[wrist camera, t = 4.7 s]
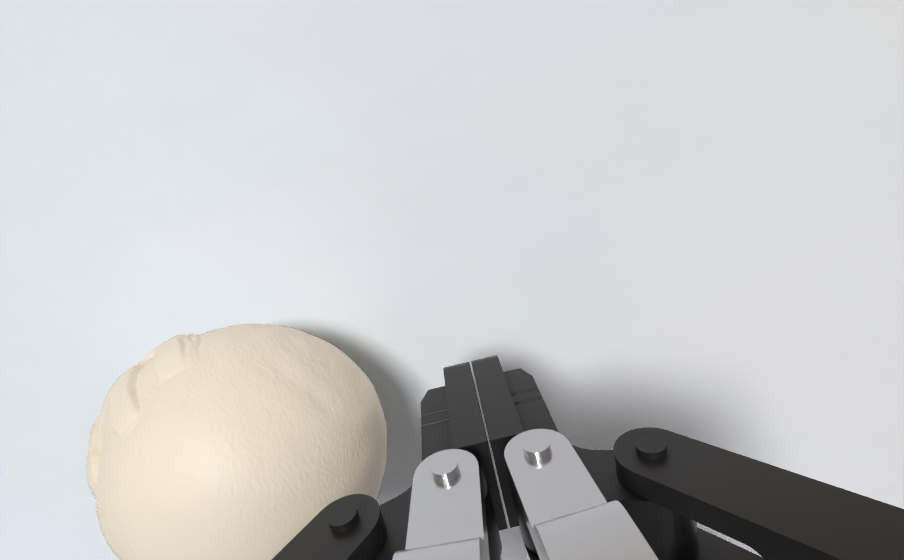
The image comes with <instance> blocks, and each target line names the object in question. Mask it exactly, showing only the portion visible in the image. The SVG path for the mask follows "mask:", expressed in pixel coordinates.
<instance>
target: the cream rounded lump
mask: <svg viewBox="0 0 904 560" xmlns="http://www.w3.org/2000/svg"><path fill="white" fill-rule="evenodd" d="M386 462H387V427H386V421H385V417H384V413H383V410H382V406H381V404H380V400H379V398H378V395H377V393H376V391H375V388H374V386H373V384H372V383H371V381H370V380H369V378H368V377H367V376H366V374H365V373H364V372H363V371H362V370H361V368H360V367H359V366H358V365H356V363H354V362H353V361H352V360H351V359H350V358H349V357H348V356H347V355H346V354H345V353H344V352H342V351H340V349H338V348H337V347H335V346H333V345H332V344H330V343H328V342H326V341H325V340H322V339H320V338H318V337H315V336H313V335H310V334H308V333H305V332H303V331H300V330H297V329H294V328H289V327H285V326H276V325H269V324H243V325H242V324H241V325H236V326H235V325H234V326H229V327H226V328H221V329H216V330H213V331H209V332H206V333H203V334H201V335H194V334H189V335H177V336H175V337H173V338H172V339H170V340H168V341H167V342H165V343H163V344H162V345H160V346H159V347H157V348H156V349H154V350H153V351H151V352H150V353H149V354H148V355H146V356H145V357H144V358H143V359H142V360H141V361H140V362H139V363H138V365H137V366H134V367H133V368H131V369H130V370H129V371H127V372H126V373H124V374H123V375H122V376H121V377H120V378H118V380H117V381H116V382H115V383H114V384H113V386H112V387H111V388H110V390H109V392H108V393H107V396H106V398H105V401H104V403H103V407H102V411H101V414H100V415H99V416H98V417H97V419H96V420H95V422H94V424H93V426H92V429H91V433H90V441H89V449H88V456H87V464H86V472H87V480H88V485H89V488H90V489H91V491H92V494H93V495H94V496H95V499H96V509H97V511H96V512H97V517H98V521H99V525H100V528H101V531H102V534H103V536H104V538H105V539H106V542H107V544H108V545H109V547H110V548H111V550H112V551H113V553H115V554H116V555H117V557H118V558H119V560H272V559H273V558H274V557H275V556H276V555H277V554H278V553H279V552H280V551H281V550H282V549H283V548H284V547H285V546H286V545H287V544H288V543H289V542H290V541H291V540H292V539H293V538H294V537H295V536H296V535H297V534H298V533H299V532H300V531H301V530H302V529H303V528H304V527H305V526H306V525H307V524H308V523H309V522H310V521H311V520H312V519H313V518H314V517H315V516H316V515H317V514H318V513H319V512H320V511H321V510H323V509H324V508H325V507H326V506H327V505H329V504H330V503H332V502H333V501H335V500H337V499H339V498H342V497H344V496H347V495H352V494H366V495H369V496H371V497H373V498H374V499H375V500H377V498H378V494H379V491H380V488H381V484H382V480H383V477H384V473H385V469H386Z"/></svg>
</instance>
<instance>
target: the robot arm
mask: <svg viewBox="0 0 904 560" xmlns="http://www.w3.org/2000/svg"><path fill="white" fill-rule="evenodd" d="M471 362H472V366H473V370H474V375H475V379H476V383H477V388H478V392H479V396H480V400H481V405H482V409H483V413H484V418H485V422H486V426H487V430H488V435H489V439H490V443H491V447H492V452H493V456H494V460H495V464H496V469H497V473H498V477H499V481H500V485H501V490H502V494H503V498H504V502H505V507H506V511H507V515H508V519H509V524H510V528H511V527H516V526H520V530H521V534H522V537H523V542H524V546H525V550H526V555H527V559H528V560H904V509H901V508H898V507H895V506H892V505H889V504H886V503H883V502H880V501H877V500H874V499H871V498H868V497H865V496H862V495H859V494H856V493H853V492H850V491H847V490H844V489H841V488H838V487H835V486H832V485H829V484H826V483H823V482H820V481H817V480H814V479H811V478H808V477H805V476H802V475H799V474H796V473H793V472H790V471H787V470H784V469H781V468H778V467H775V466H772V465H769V464H766V463H763V462H760V461H757V460H754V459H751V458H748V457H745V456H742V455H739V454H736V453H733V452H730V451H727V450H724V449H721V448H718V447H715V446H712V445H709V444H706V443H703V442H700V441H697V440H694V439H691V438H688V437H685V436H682V435H679V434H676V433H673V432H670V431H667V430H664V429H659V428H638V429H634V430H631V431H628V432H626V433H624V434H623V435H621V436H620V437H619V438H618V439H617V440H616V442H615V444H614V449H613V450H587V449H582V448H578V447H576V446H573V445H571V443H570V442H569V440H568V439H567V438H566V437H565V436H564V435H562V434H561V433H559V432H558V430H557V428H556V426H555V424H554V422H553V420H552V417H551V415H550V413H549V411H548V409H547V407H546V405H545V402H544V400H543V399H542V396H541V394H540V392H539V390H538V388H537V385H536V383H535V381H534V379H533V377H532V376H531V375H530V374H528V373H527V372H525V371H523V370H522V369H516V370H511V371H507V372H503V371H502V368H501V365H500V362H499V360H498V357H497V355H496V356H492V357H488V358H483V359H479V360H475V361H471ZM444 377H445V386H443V387H439V388H435V389H431V390H428V392H427V393H426V395H425V397H424V398H423V400H422V402H421V416H422V417H421V425H422V462H421V463H420V464H419V465H418V467H417V468H416V470H415V472H414V476H413V484H412V486H411V487H410V488H409V489H408V490H407V491H405V492H404V493H403V494H401V495H399V496H398V497H396V498H394V499H392V500H390V501H388V502H386V503H384V504H382V505H380V506H379V504H378V502H377V501H376V500H375V499H374V498H373V497H371V496H369V495H366V494H352V495H347V496H344V497H342V498H339V499H337V500H335V501H333V502H332V503H330V504H329V505H327V506H326V507H325V508H324V509H323V510H321V511H320V512H319V513H318V514H317V515H316V516H315V517H314V518H313V519H312V520H311V521H310V522H309V523H308V524H307V525H306V526H305V527H304V528H303V529H302V530H301V531H300V532H299V533H298V534H297V535H296V536H295V537H294V538H293V539H292V540H291V541H290V542H289V543H288V544H287V545H286V546H285V547H284V548H283V549H282V550H281V551H280V552H279V553H278V554H277V555H276V556H275V557H274V558H273V559H272V560H502V558H501V550H502V547H501V540H500V535H499V530H504V529H508V528H507V524H506V520H505V515H504V511H503V506H502V502H501V498H500V493H499V489H498V485H497V480H496V476H495V471H494V467H493V463H492V458H491V454H490V450H489V445H488V441H487V436H486V432H485V428H484V423H483V419H482V415H481V411H480V406H479V402H478V398H477V393H476V389H475V385H474V381H473V376H472V372H471V368H470V364H469V362H467V363H462V364H458V365H454V366H449V367H445V368H444ZM697 522H698V523H700V524H702V525H705V526H707V527H709V528H711V529H713V530H716V531H718V532H720V533H722V534H724V535H727V536H729V537H731V538H733V539H735V540H738V541H740V542H742V543H744V544H746V545H748V546H750V547H751V548H753V549H754V550H755V551H757V552H758V553H759V554H760V555H761V556H762V557H763V558H762V557H760V556H758V555H756V554H754V553H752V552H749V551H747V550H745V549H743V548H741V547H739V546H736V545H734V544H732V543H730V542H728V541H726V540H723V539H721V538H719V537H717V536H715V535H713V534H711V533H708V532H706V531H704V530H702V529H700V528H698V527H697Z"/></svg>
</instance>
